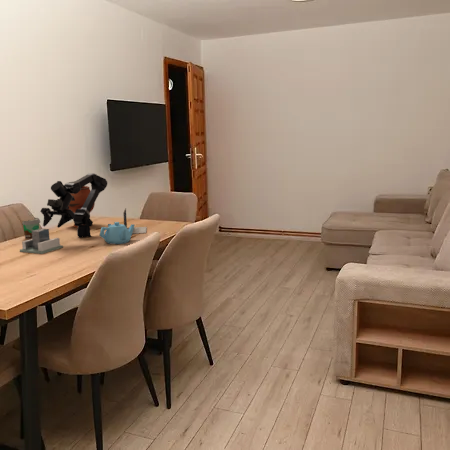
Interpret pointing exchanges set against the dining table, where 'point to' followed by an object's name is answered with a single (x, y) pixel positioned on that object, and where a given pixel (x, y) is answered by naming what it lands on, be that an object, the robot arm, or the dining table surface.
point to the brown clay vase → (80, 200)
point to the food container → (30, 227)
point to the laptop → (136, 229)
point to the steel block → (39, 237)
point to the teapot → (116, 233)
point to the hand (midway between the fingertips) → (50, 226)
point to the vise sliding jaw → (27, 244)
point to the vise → (45, 246)
